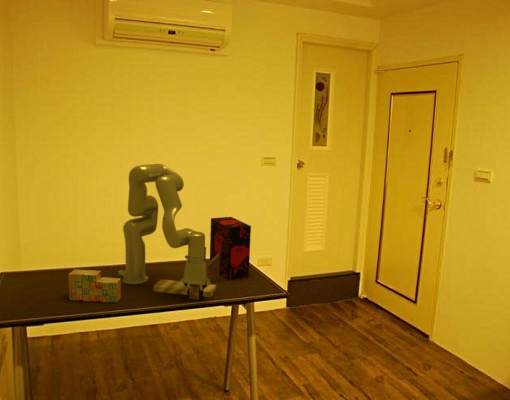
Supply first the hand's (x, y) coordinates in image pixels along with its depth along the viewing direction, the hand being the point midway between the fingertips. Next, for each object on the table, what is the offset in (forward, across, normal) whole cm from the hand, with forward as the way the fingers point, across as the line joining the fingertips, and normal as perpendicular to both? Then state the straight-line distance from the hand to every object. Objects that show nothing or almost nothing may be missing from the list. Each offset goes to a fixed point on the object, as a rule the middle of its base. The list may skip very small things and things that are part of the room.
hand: (195, 296), depth 205 cm
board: (+1, -7, +8) cm, 10 cm away
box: (+1, +7, +39) cm, 40 cm away
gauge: (+1, 0, +5) cm, 5 cm away
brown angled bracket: (+1, 0, +24) cm, 24 cm away
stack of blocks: (+1, -42, -13) cm, 44 cm away
